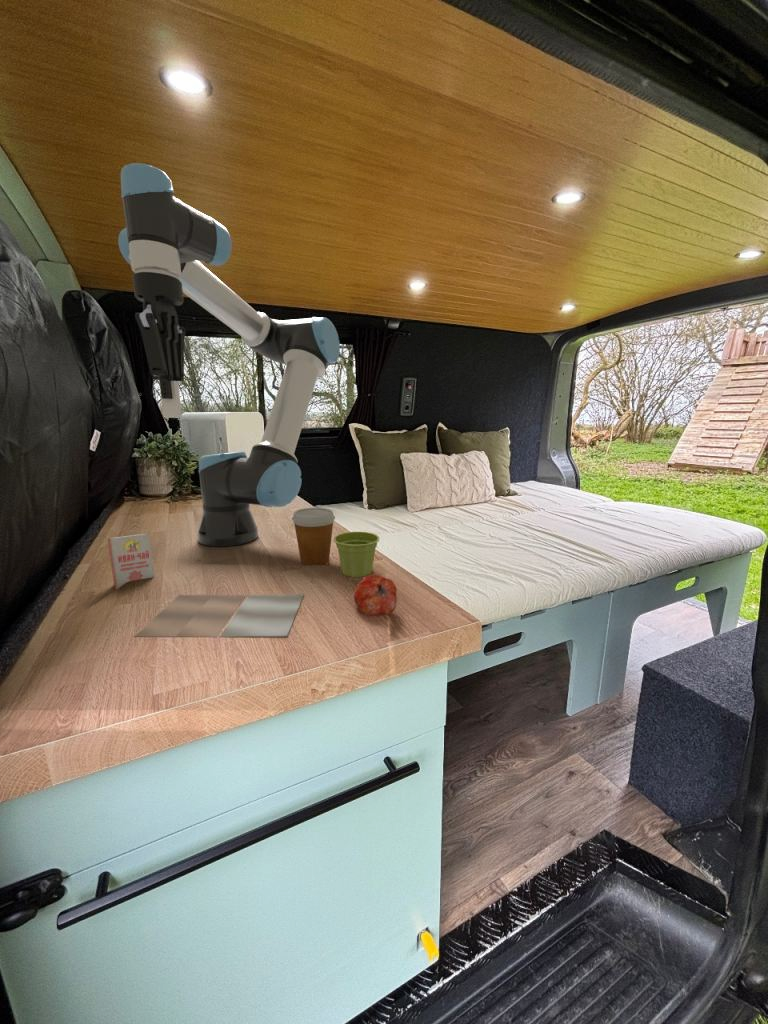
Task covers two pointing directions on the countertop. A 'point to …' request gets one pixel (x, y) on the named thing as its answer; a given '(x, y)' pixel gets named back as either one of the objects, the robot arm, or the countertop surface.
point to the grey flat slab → (264, 616)
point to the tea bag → (130, 558)
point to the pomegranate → (375, 595)
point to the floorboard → (193, 616)
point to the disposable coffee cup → (314, 534)
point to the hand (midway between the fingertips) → (172, 417)
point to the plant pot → (356, 552)
